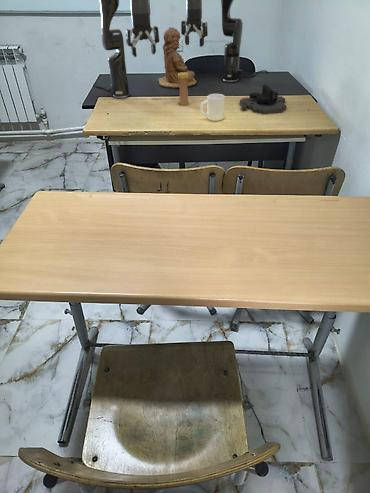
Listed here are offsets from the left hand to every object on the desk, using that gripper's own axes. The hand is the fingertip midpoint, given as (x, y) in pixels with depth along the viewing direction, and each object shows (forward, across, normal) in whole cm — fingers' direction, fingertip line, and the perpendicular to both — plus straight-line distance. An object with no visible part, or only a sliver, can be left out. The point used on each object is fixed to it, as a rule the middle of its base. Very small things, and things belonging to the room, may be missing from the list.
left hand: (144, 55), depth 157 cm
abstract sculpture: (+29, -60, +11) cm, 68 cm away
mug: (+29, -28, +12) cm, 42 cm away
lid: (+14, -26, -14) cm, 33 cm away
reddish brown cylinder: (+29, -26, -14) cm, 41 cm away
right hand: (+3, -33, -17) cm, 37 cm away
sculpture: (+29, -39, -52) cm, 71 cm away
